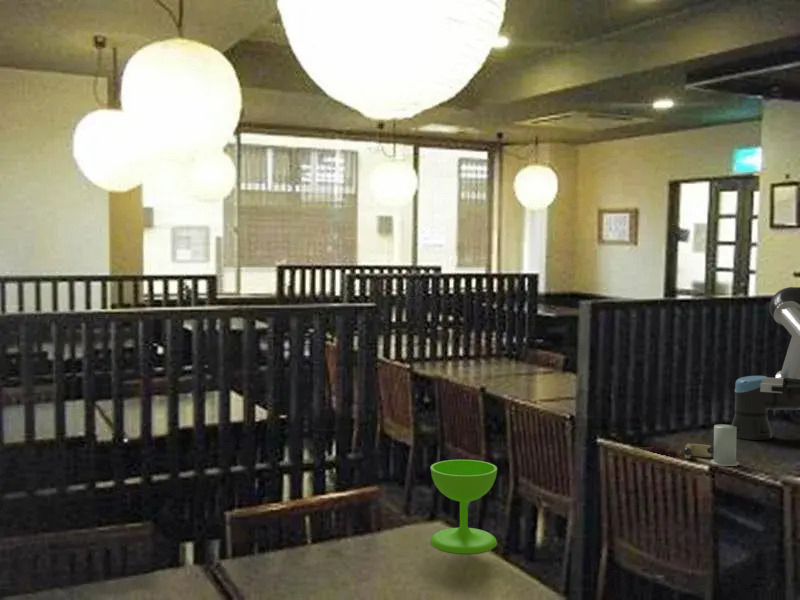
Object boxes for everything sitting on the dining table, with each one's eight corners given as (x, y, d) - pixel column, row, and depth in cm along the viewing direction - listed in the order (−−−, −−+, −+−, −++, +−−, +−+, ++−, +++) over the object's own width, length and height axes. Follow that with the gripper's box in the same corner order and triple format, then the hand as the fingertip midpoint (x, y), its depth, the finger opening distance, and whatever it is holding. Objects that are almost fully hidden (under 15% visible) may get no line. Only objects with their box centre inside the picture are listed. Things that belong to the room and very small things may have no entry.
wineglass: (476, 527, 199) (476, 457, 198) (509, 547, 184) (509, 471, 184) (419, 536, 193) (419, 463, 192) (449, 557, 178) (449, 479, 177)
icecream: (630, 443, 266) (670, 455, 254) (642, 435, 270) (682, 446, 259) (631, 462, 267) (671, 474, 256) (644, 453, 272) (683, 465, 260)
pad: (711, 459, 269) (711, 457, 269) (739, 462, 265) (739, 460, 265) (708, 465, 261) (708, 463, 261) (738, 468, 257) (738, 466, 257)
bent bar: (685, 454, 278) (685, 442, 278) (714, 456, 273) (715, 445, 273) (682, 459, 270) (683, 447, 270) (712, 462, 266) (712, 450, 266)
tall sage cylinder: (714, 458, 268) (714, 423, 268) (736, 460, 265) (737, 425, 265) (712, 463, 262) (713, 427, 261) (735, 465, 259) (736, 429, 258)
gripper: (835, 407, 242) (759, 401, 251) (831, 394, 264) (762, 389, 273) (835, 383, 241) (759, 378, 251) (832, 372, 263) (762, 368, 273)
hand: (760, 384), depth 262 cm, fingers open, 13 cm apart
